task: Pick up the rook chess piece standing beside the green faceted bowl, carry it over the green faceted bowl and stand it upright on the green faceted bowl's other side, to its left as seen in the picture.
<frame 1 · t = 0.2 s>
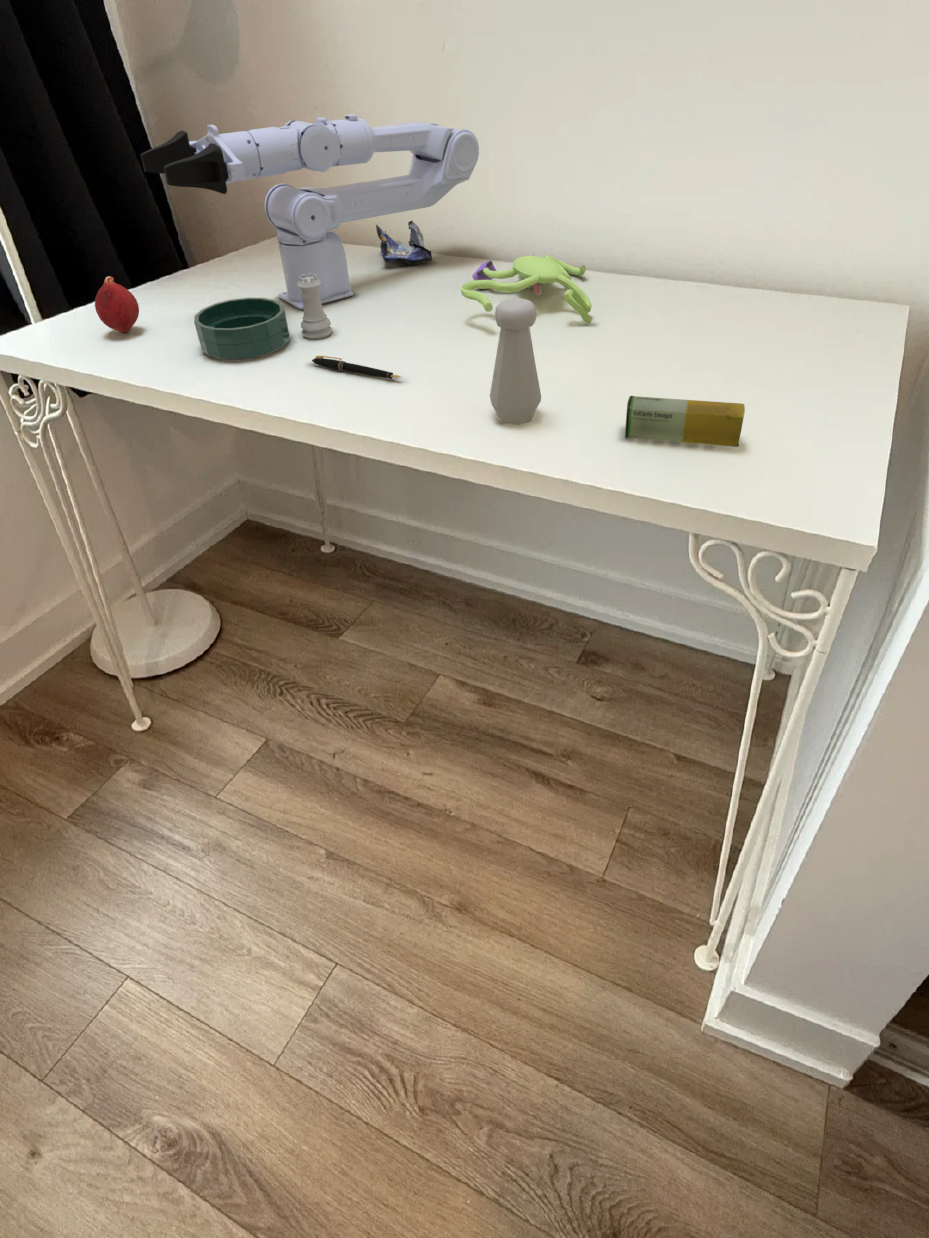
hand: (154, 169, 102), 21 cm above the table, tool horizontal, fingers open, 7 cm apart
medication box: (680, 441, 85), on the table
fountain pen: (356, 375, 102), on the table
rook chess piece: (317, 335, 113), on the table
salt shaker: (515, 418, 91), on the table
green faceted bowl: (246, 345, 111), on the table
onion: (125, 334, 116), on the table
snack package: (405, 259, 138), on the table
figurine: (529, 303, 119), on the table
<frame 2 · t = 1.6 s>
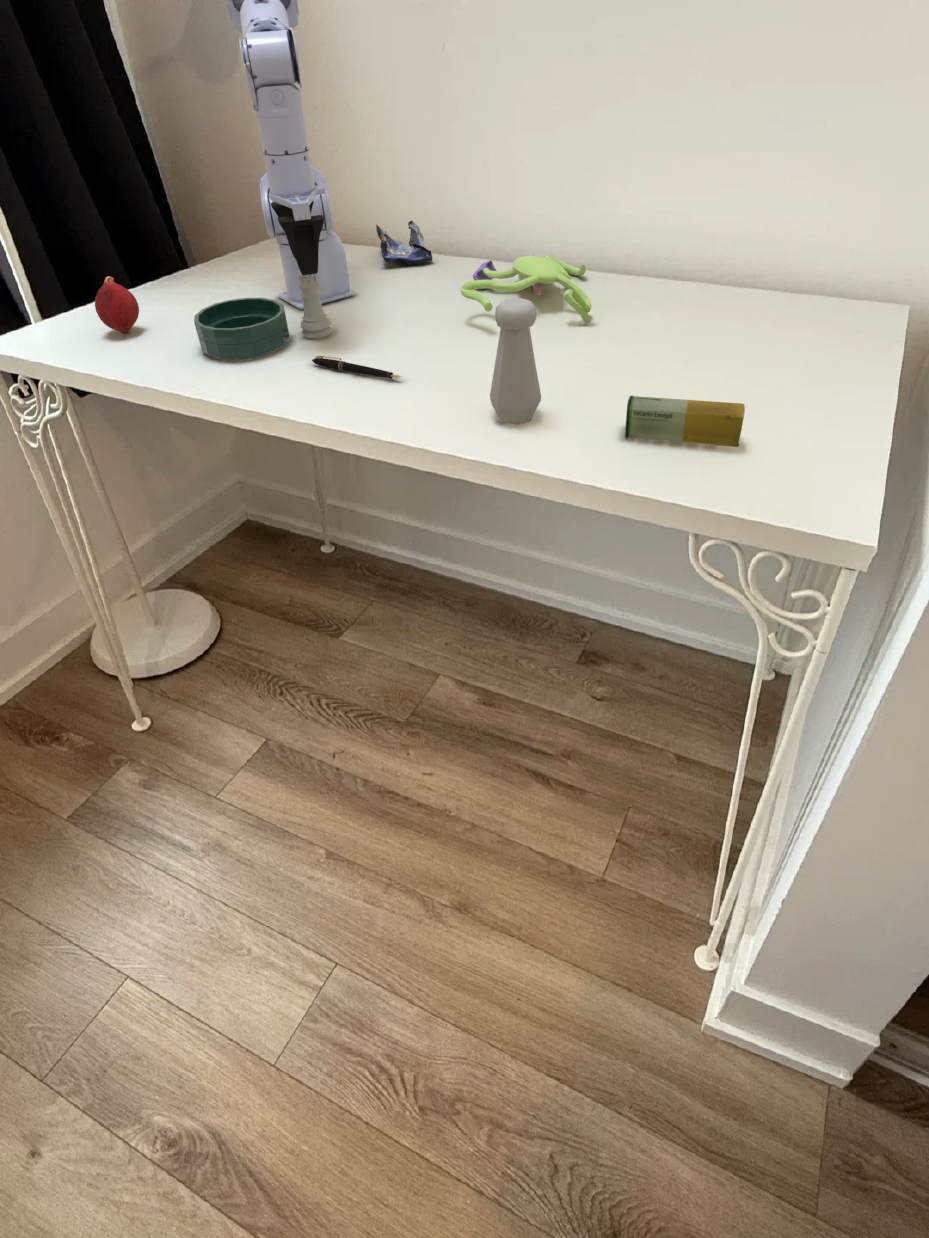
hand: (305, 265, 106), 9 cm above the table, tool pointing down, fingers open, 7 cm apart
nothing on the table moved.
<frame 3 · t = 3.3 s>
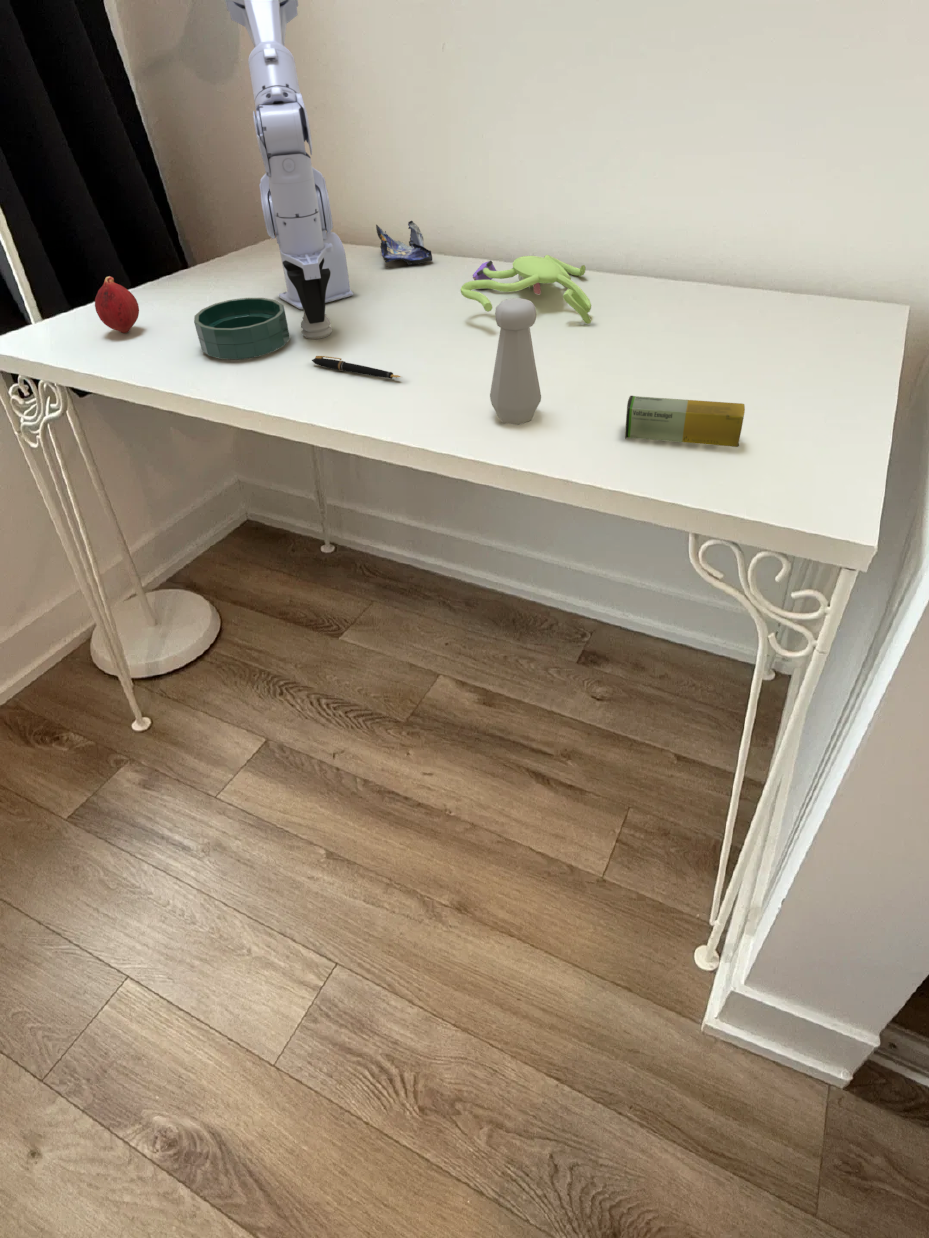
hand: (314, 317, 111), 2 cm above the table, tool pointing down, fingers closed on rook chess piece, 3 cm apart
rook chess piece: (317, 335, 113), on the table, touching gripper
everything else where it was.
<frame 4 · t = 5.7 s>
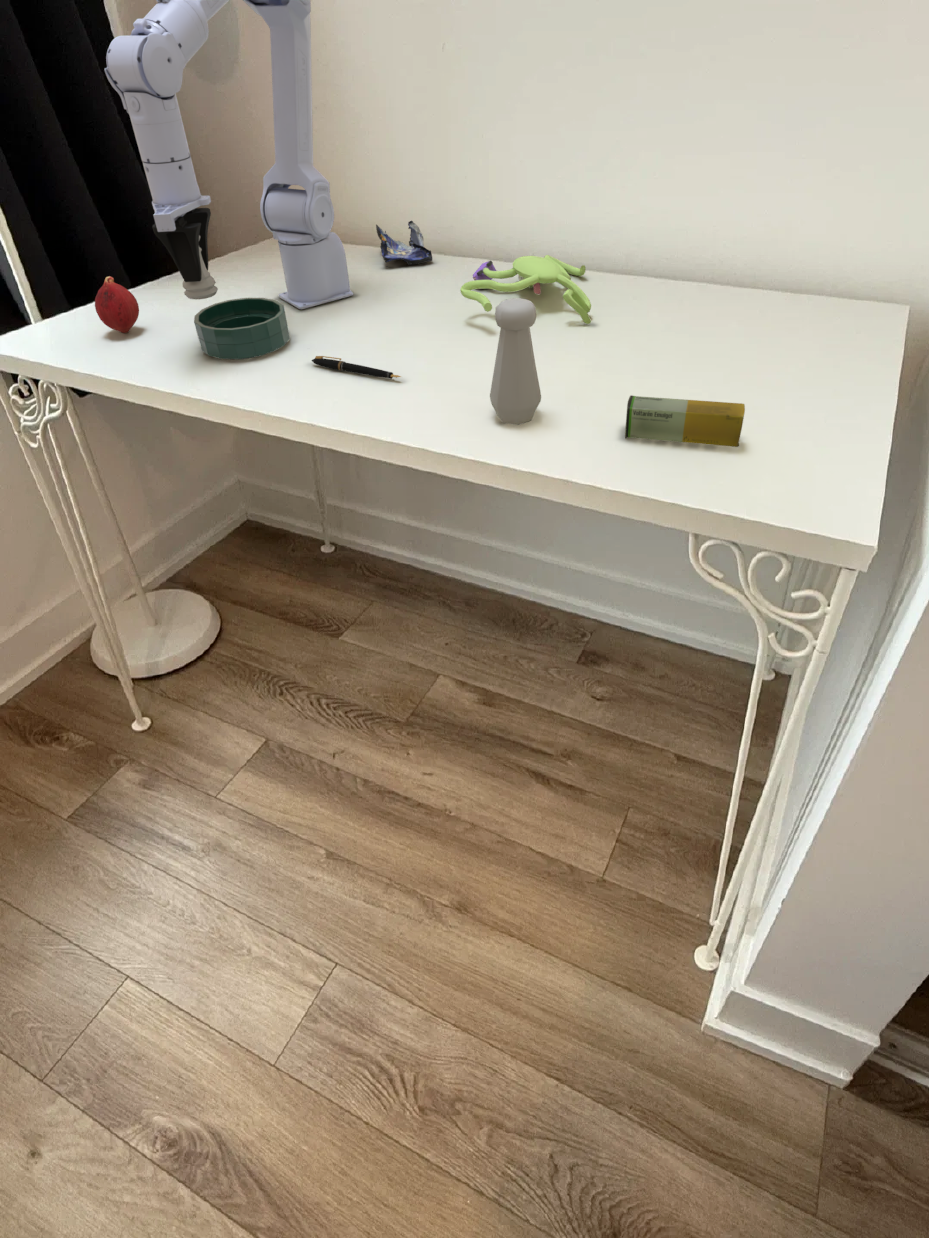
hand: (196, 276, 103), 10 cm above the table, tool pointing down, fingers closed on rook chess piece, 3 cm apart
rook chess piece: (202, 296, 105), point 7 cm above the table, touching gripper
everything else where it was.
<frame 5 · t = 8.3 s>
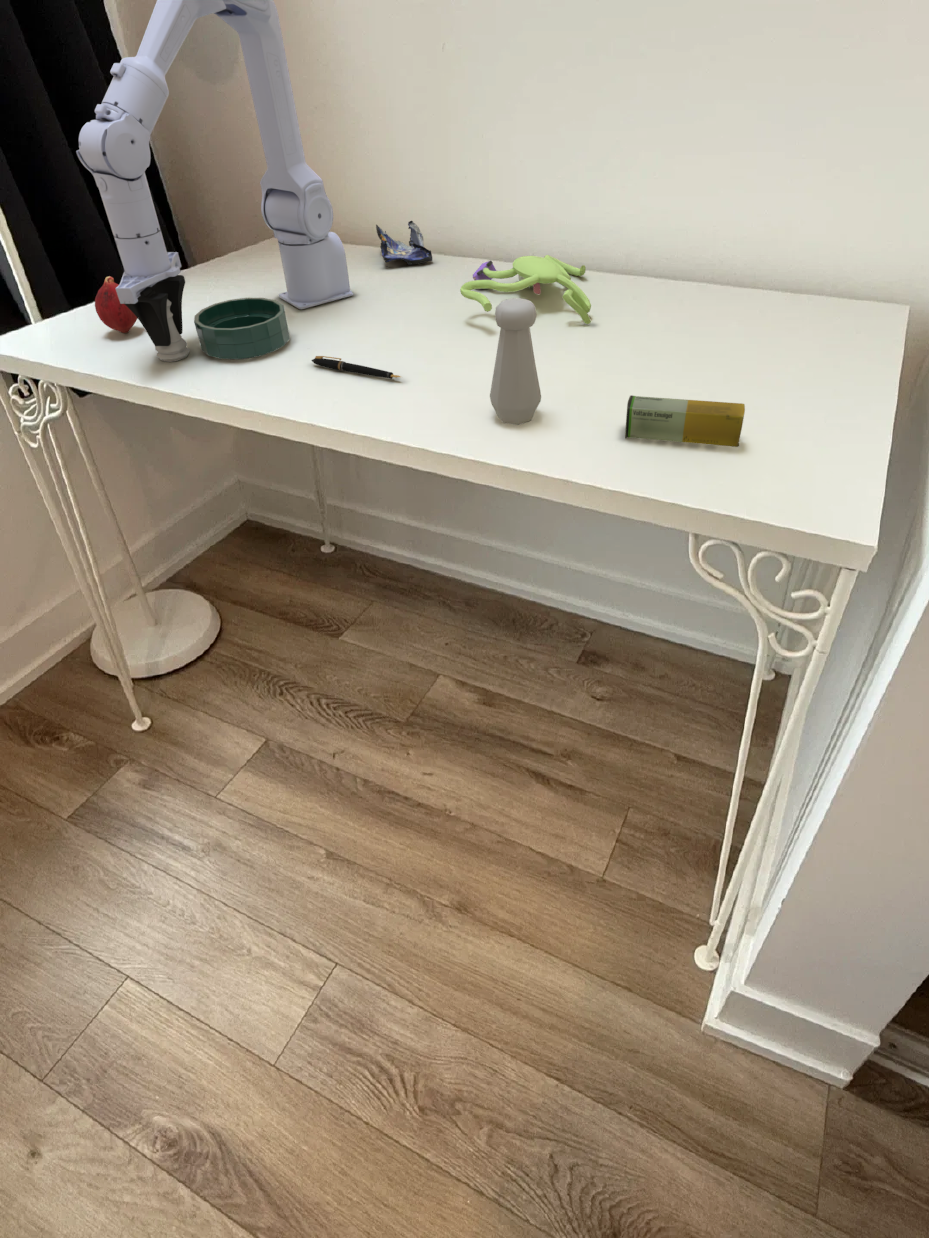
hand: (168, 339, 107), 2 cm above the table, tool pointing down, fingers closed on rook chess piece, 3 cm apart
rook chess piece: (174, 357, 109), on the table, touching gripper
everything else where it was.
when the fingers open (2 cm above the table, at t = 8.3 s): rook chess piece stays where it is, on the table.
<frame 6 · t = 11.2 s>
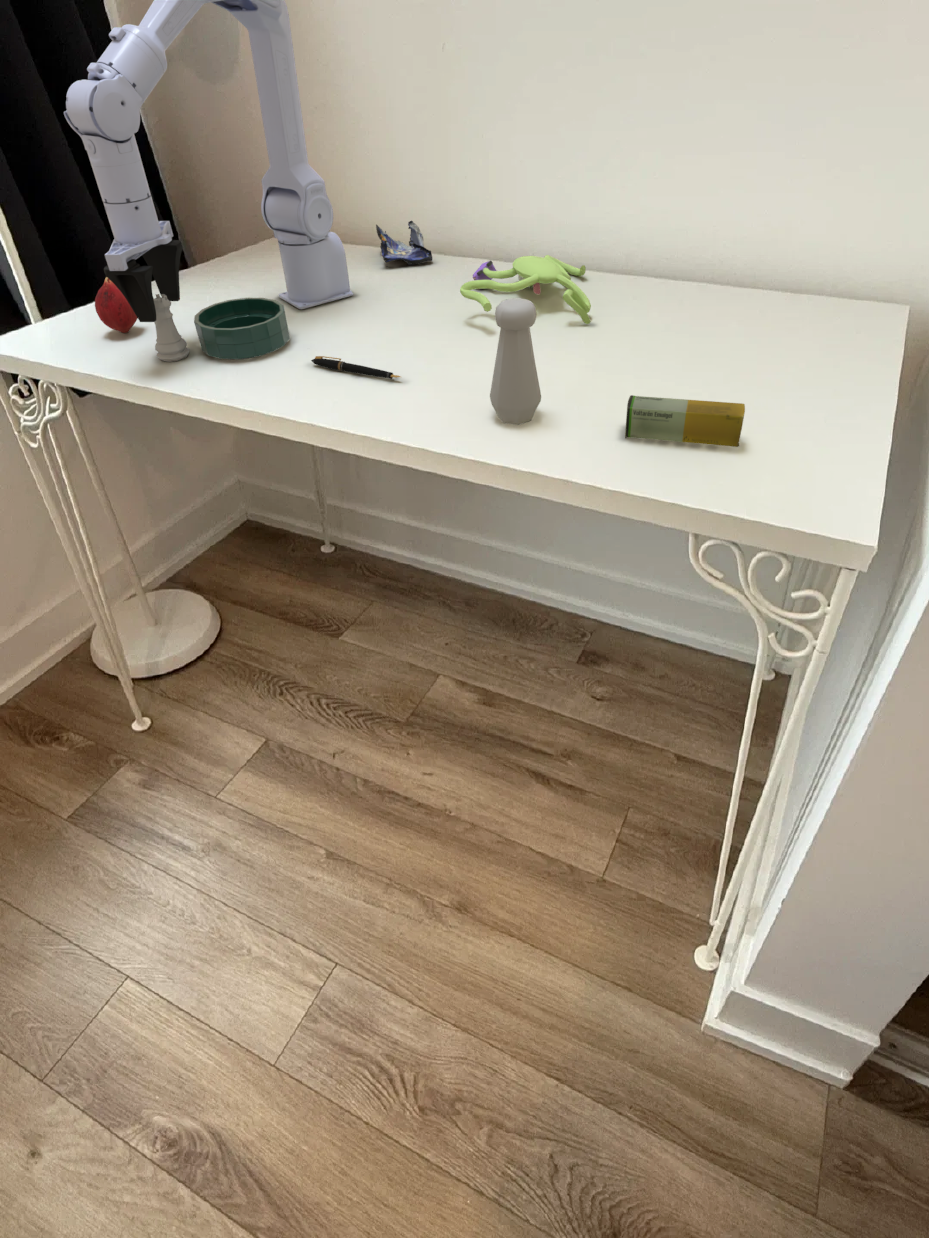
hand: (160, 310, 105), 6 cm above the table, tool pointing down, fingers open, 7 cm apart
rook chess piece: (174, 357, 109), on the table
everything else where it was.
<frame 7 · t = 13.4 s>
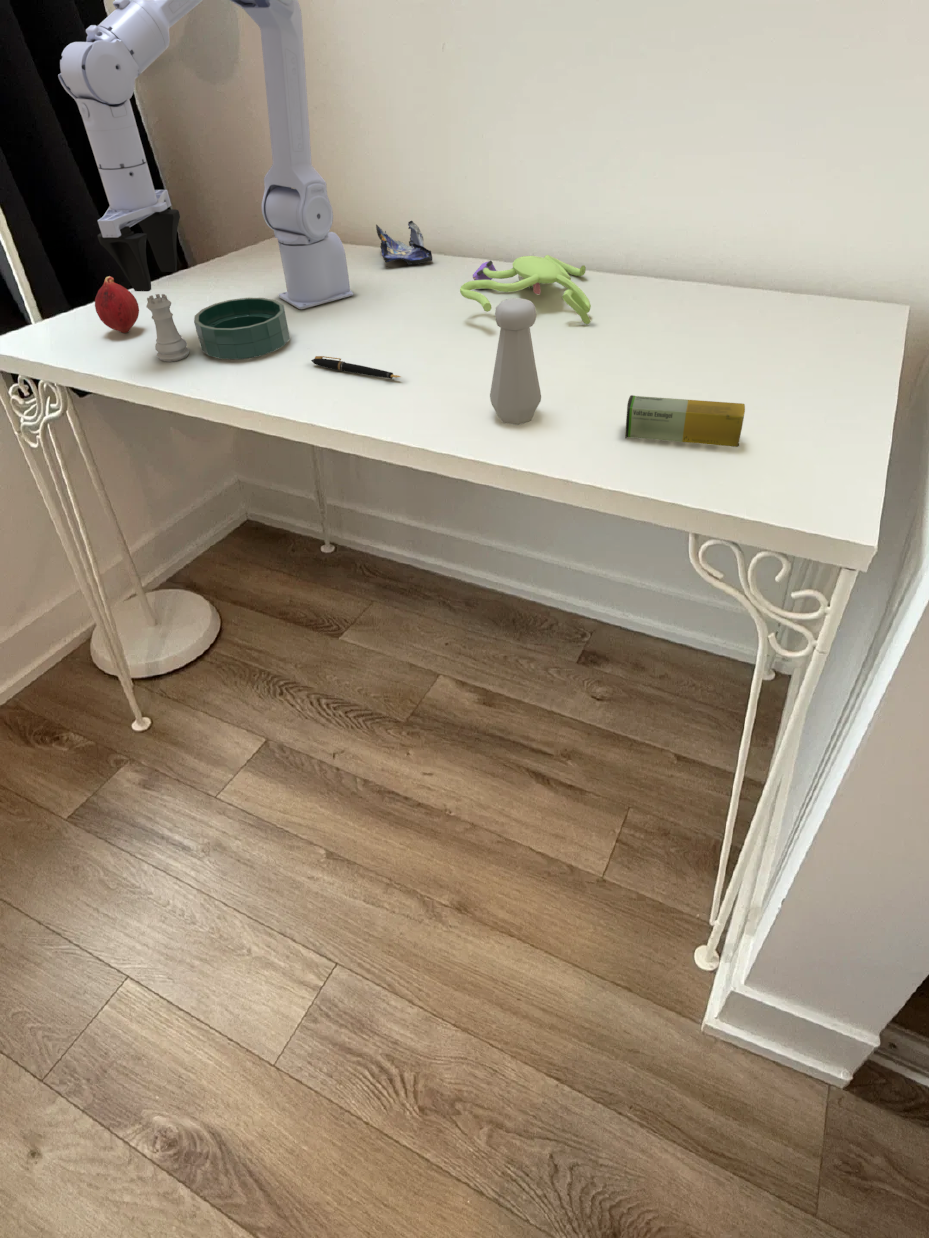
hand: (156, 280, 104), 10 cm above the table, tool pointing down, fingers open, 7 cm apart
nothing on the table moved.
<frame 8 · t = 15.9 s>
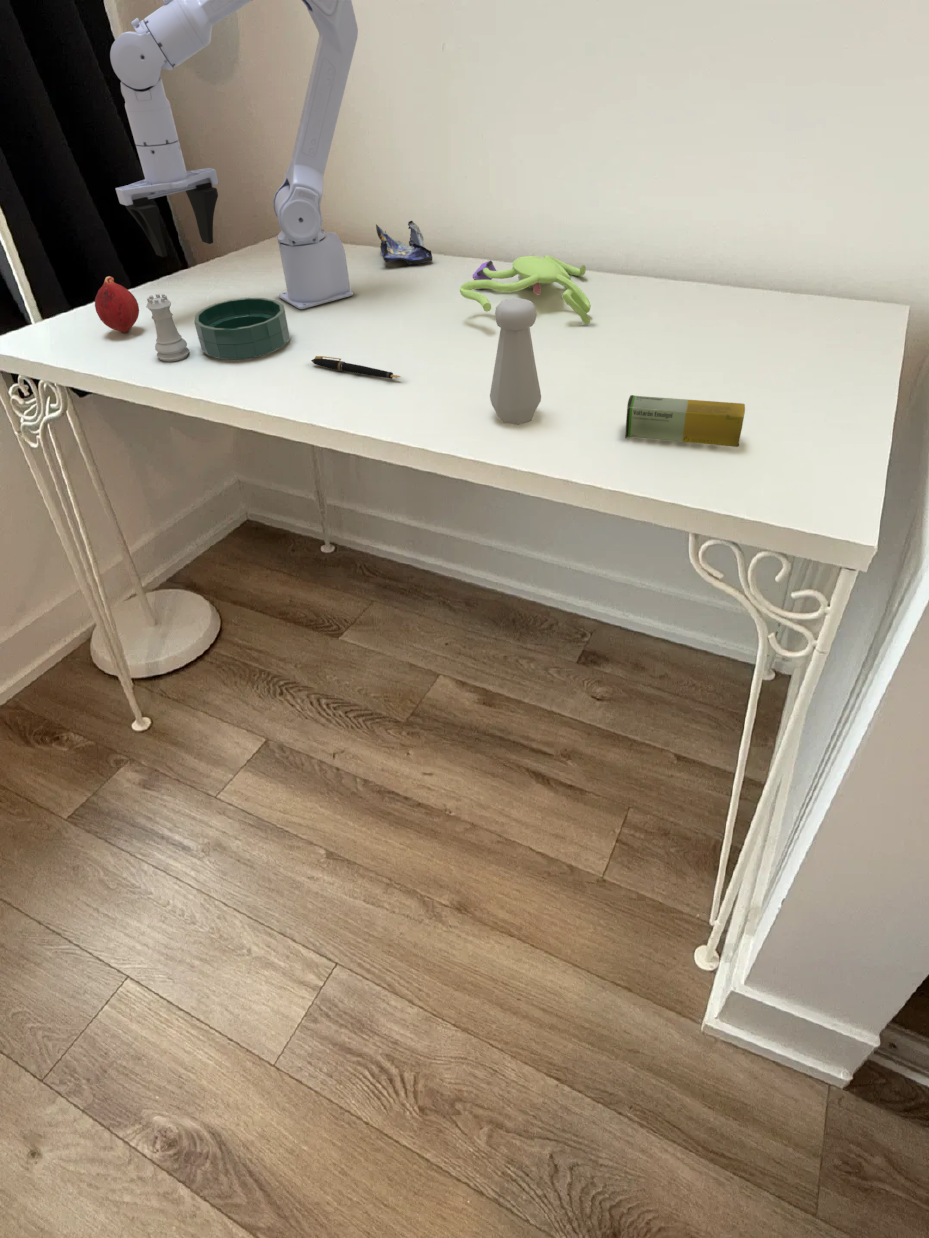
hand: (185, 248, 115), 9 cm above the table, tool pointing down, fingers open, 7 cm apart
nothing on the table moved.
at the end: rook chess piece 0.0 cm from the target spot on the table beside the green faceted bowl, on the table; rook chess piece tilted 0°; the gripper is holding nothing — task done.
